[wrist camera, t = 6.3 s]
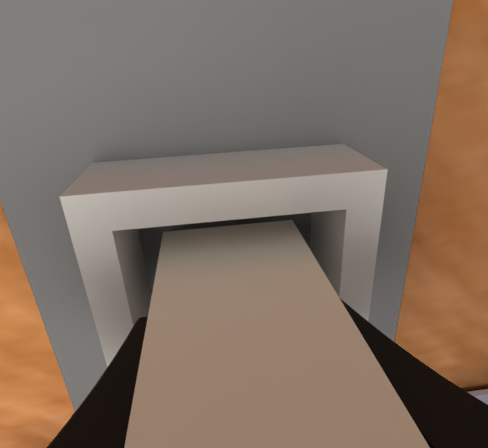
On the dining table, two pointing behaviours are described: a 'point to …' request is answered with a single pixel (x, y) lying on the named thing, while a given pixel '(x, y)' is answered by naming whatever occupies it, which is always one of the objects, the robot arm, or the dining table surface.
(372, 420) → the post
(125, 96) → the bracket
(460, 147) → the dining table surface
